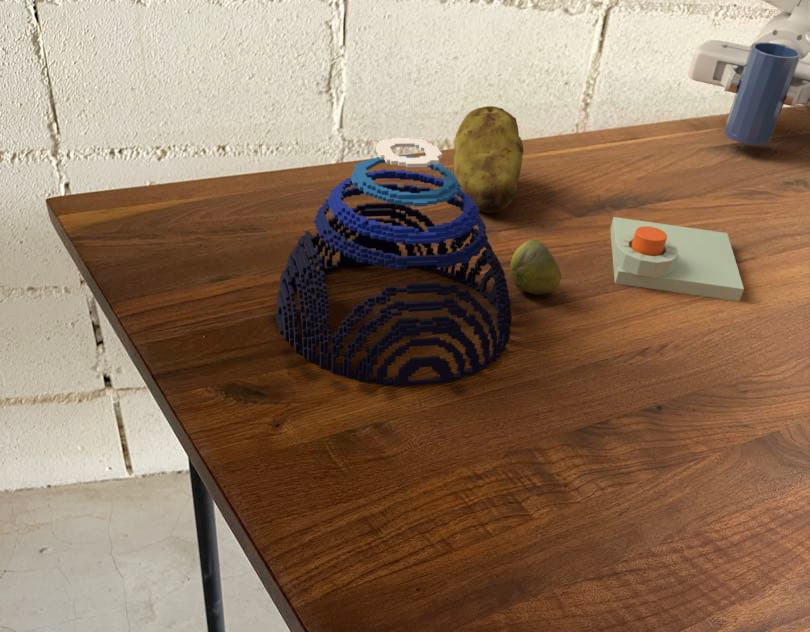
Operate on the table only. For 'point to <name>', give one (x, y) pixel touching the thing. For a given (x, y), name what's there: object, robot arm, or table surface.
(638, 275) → the scale
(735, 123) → the cup
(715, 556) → the table surface
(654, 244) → the tare button
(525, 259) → the green mango
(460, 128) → the potato
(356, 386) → the table surface
